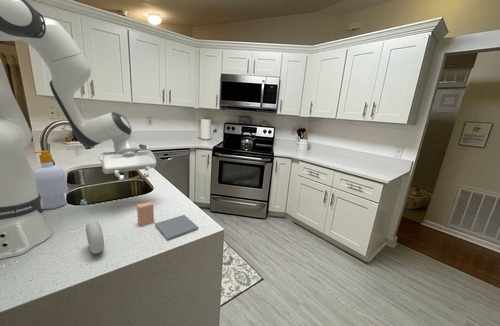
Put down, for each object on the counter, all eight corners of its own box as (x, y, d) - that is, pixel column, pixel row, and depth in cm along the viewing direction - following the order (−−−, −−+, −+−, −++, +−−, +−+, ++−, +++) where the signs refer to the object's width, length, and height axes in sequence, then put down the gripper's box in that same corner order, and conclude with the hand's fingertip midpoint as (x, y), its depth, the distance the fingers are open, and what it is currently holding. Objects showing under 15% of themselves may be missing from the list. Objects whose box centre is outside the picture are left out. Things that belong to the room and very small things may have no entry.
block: (140, 226, 79) (139, 207, 77) (138, 223, 81) (136, 204, 79) (154, 222, 83) (153, 204, 81) (151, 219, 85) (150, 201, 83)
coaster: (167, 240, 72) (167, 238, 72) (155, 225, 81) (154, 223, 80) (198, 229, 80) (198, 227, 80) (184, 216, 89) (184, 214, 88)
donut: (87, 245, 67) (83, 217, 65) (100, 241, 70) (96, 214, 67) (92, 262, 60) (88, 231, 58) (106, 257, 63) (103, 227, 60)
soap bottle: (33, 206, 88) (21, 150, 82) (63, 198, 97) (55, 147, 91) (43, 213, 84) (32, 154, 78) (74, 204, 92) (66, 151, 87)
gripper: (98, 148, 82) (105, 179, 77) (152, 145, 96) (161, 171, 91) (97, 157, 86) (104, 186, 81) (149, 153, 100) (158, 178, 95)
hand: (135, 178), depth 86 cm, fingers open, 8 cm apart
